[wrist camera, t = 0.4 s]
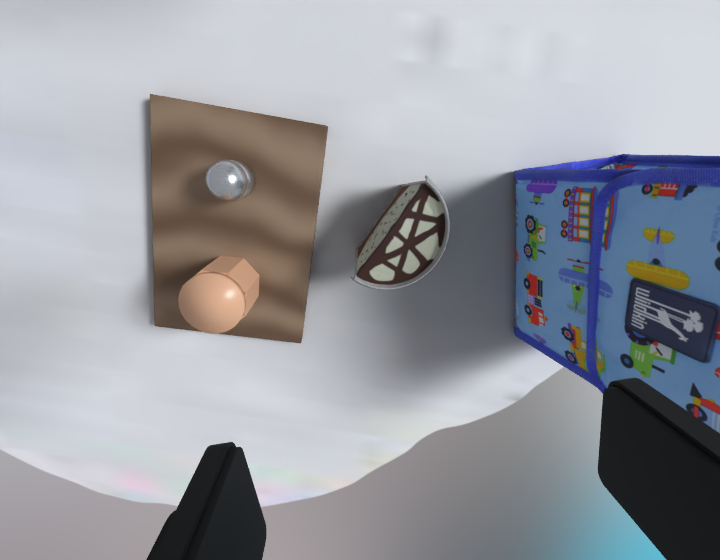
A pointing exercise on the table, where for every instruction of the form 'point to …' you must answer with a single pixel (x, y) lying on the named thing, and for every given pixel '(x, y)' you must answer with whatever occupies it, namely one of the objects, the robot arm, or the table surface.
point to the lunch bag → (625, 272)
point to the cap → (219, 295)
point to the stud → (230, 180)
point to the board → (235, 209)
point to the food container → (404, 238)
